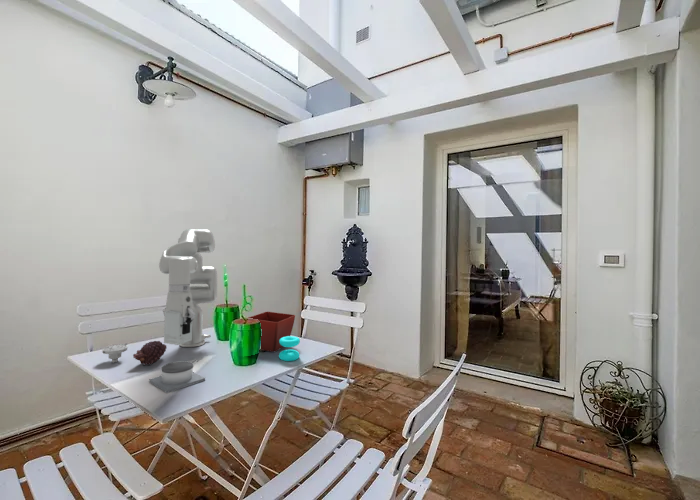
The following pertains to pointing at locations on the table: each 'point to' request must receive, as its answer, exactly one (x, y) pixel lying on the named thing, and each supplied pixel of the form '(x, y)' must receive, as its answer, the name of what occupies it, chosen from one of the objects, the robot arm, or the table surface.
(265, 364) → the table surface
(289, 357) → the donuts
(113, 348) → the showerhead
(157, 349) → the pine cone
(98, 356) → the table surface
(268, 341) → the plant pot
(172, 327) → the supplement box
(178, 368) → the duct stub
